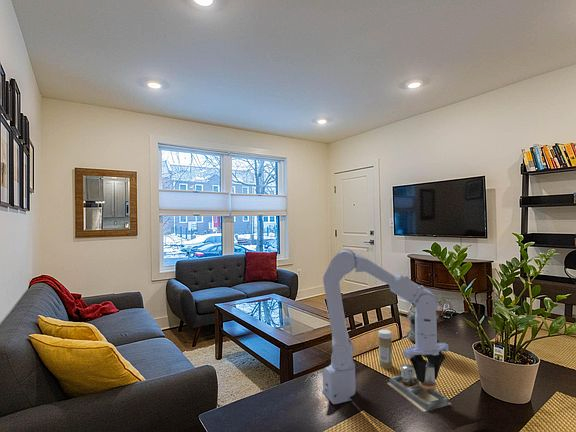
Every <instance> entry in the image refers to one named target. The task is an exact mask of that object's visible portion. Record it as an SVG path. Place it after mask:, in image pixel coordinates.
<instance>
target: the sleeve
mask: <svg viewBox="0 0 576 432" xmlns="http://www.w3.org/2000/svg"><path fill="white" fill-rule="evenodd" d="M419 386H420V387H421V388H422V389H425V390H436V389H437V383H436V380H435V366H434V365H433V364H431V363H428V361H427V364H426V367H425V380H424V382H423V383H422V382H420V381H419Z"/></svg>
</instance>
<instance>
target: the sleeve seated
mask: <svg viewBox="0 0 576 432" xmlns="http://www.w3.org/2000/svg"><path fill="white" fill-rule="evenodd" d="M400 375H401V381H400V384H402V385H403V386H404V387H406V388H410V387H414V386H416V383H415V377H416V373H415V370H414V367H413V365H412V364H408V363H402V364H401V365H400Z"/></svg>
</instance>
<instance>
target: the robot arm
mask: <svg viewBox="0 0 576 432" xmlns="http://www.w3.org/2000/svg"><path fill="white" fill-rule="evenodd" d="M354 269H355V271H354V272H355V273H360V272H361V273H363V272H365V273H367V274H369V275H370V276H373V277H374V278H376V279H378V280H380V281H382V282H383V283H384V284H387V285H388V286H389V290H390V292H391V293H394V294H395V295H397V297H398V296H399V297H400V298H401V299H403V300H405V301H407V302H408V303H410V304H413V305H414V304H415V305H416V306H415V312H416V314H415V344H413V345H412V346H410V347H408V348H406V349H403V351H402V353H403V357H404V358H405V359H406V360H409V361H410V362H411V365H412V366H413V367H414V370H415V377H416V378H417V380H419V381H420V382H422V383H423V382H424V380H425V367H426V364H427V362H428V363H431V364H433V365H434V366H435V381H436V380H437V379H438V376H439V373H440V370H441V369H440V368H441V367H442V364H443V362H445V360H446V355H445V354H443V353H442V352H445V353H447V352H449V344H447V343H446V342H439V343H437V335H438V334H437V333H438V332H437V324H438V322H436V313H437V310H438V308H439V303H438V299H437V297H436V296H435V295H434V294H433V292H432V291H431V290H429V289H428V288H427V287H425V286H424V285H422V284H421V285H419V284H418V283H416V282H414V281H412V280H410V276H408V275H406V274H405V275H402V274H397V275H394V274H392V273H391V272H389V271H387V270H386V269H385V268H383V267H381V266H380V265H378V264H377V263H376V262H373V261H372V260H371V259H369V258H367V257H365V256H363V255H361V254H360V253H357V252H354V251H352V250H351V249H348V248H343V249H341V250H339V251H338V252H337V253H336V254H335V255H334V256H333V258H331V260H330V261H329V264H328V266H327V269H326V271H325V273H324V275H323V277H322V281H323V286H324V287H323V288H324V293H325V300H326V306H327V312H328V313H327V314H328V318H329V324H330V330H331V347H332V353H331V356H330V361H331V362H330V363H331V364H329V365H328V366H326V367H324V368H323V369H322V388H321V389H322V390H321V392H322V393H323V394H324V395H325V397H326V398H327V399H328V400H329V401H330V402H331V404H333V405H338V404H342V403H346V402H350V401H353V399H352V398H351V397H353V396H354V395H355V394H356V363H355V361H354V359H353V357H354V356H353V355H354V352H355V347H354V344H353V342H352V341H351V339H350V335H349V333H348V330H347V329H348V327H347V322H346V316H345V312H344V311H345V310H344V305H343V299H342V292H341V286H340V281H341V280H342V279H343V278H344V277H345V276H346V275H347V274H350V273H351V272H353V270H354ZM422 355H427V357H426V358H427V360H426V359H425V358H424V356H422Z"/></svg>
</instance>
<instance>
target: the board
mask: <svg viewBox="0 0 576 432" xmlns="http://www.w3.org/2000/svg"><path fill="white" fill-rule="evenodd" d="M400 381H401V374H400V375H395V376H391V377H389V382H387V383H386V384H387V385H389V387H391V388H392V389H394V390H395V391H396V392H397V393H399V394H400V395H401V396H403V398H405V399H406V400H408V401H409V402H410V403H411V404H413V405H414V406H415V407H416V408H418V409H419V410H420V411H422V412H427V411H432V410H435V409H438V408H439V409H441V408H443V407H446V406H447V407H448V406H450V405H452V402H450V401H449V398H448V397H446V396H445V395H443V394H442V393H440V392H439V391H437V390H436V389H435V390H425V389H422V388H421V387H420V386H419V380H417V377H416V376H415V383H416V386H414V387H410V388H406V387H404V386H403V385H402V384H400Z"/></svg>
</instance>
